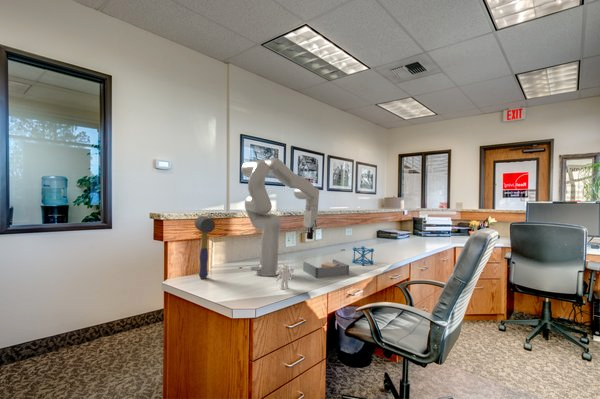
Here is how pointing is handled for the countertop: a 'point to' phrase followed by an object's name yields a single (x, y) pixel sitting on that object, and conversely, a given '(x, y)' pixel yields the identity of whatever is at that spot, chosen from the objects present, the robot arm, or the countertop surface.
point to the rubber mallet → (204, 242)
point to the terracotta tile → (328, 264)
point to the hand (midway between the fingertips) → (309, 238)
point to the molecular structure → (363, 255)
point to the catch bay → (326, 270)
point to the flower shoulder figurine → (284, 275)
